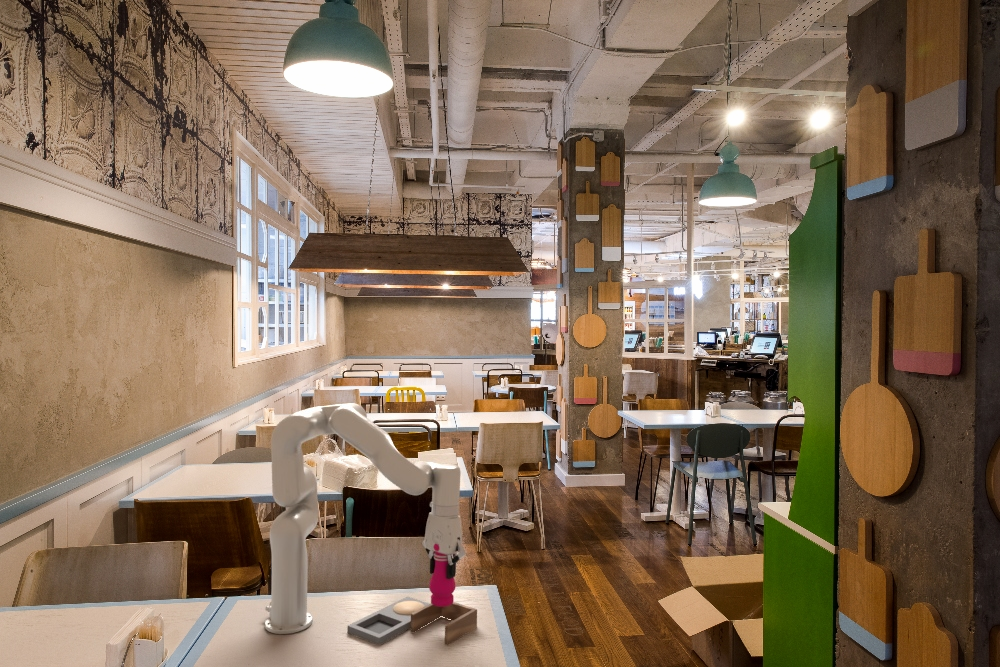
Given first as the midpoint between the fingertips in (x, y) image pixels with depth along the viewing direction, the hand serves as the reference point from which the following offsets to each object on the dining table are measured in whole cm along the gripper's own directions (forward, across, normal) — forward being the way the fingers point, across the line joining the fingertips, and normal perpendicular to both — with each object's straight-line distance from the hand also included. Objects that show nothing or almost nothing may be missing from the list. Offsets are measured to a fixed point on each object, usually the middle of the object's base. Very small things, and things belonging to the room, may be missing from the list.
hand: (442, 574), depth 178 cm
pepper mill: (+8, 0, 0) cm, 8 cm away
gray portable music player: (+16, -13, -4) cm, 21 cm away
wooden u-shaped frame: (+15, +1, +1) cm, 15 cm away
